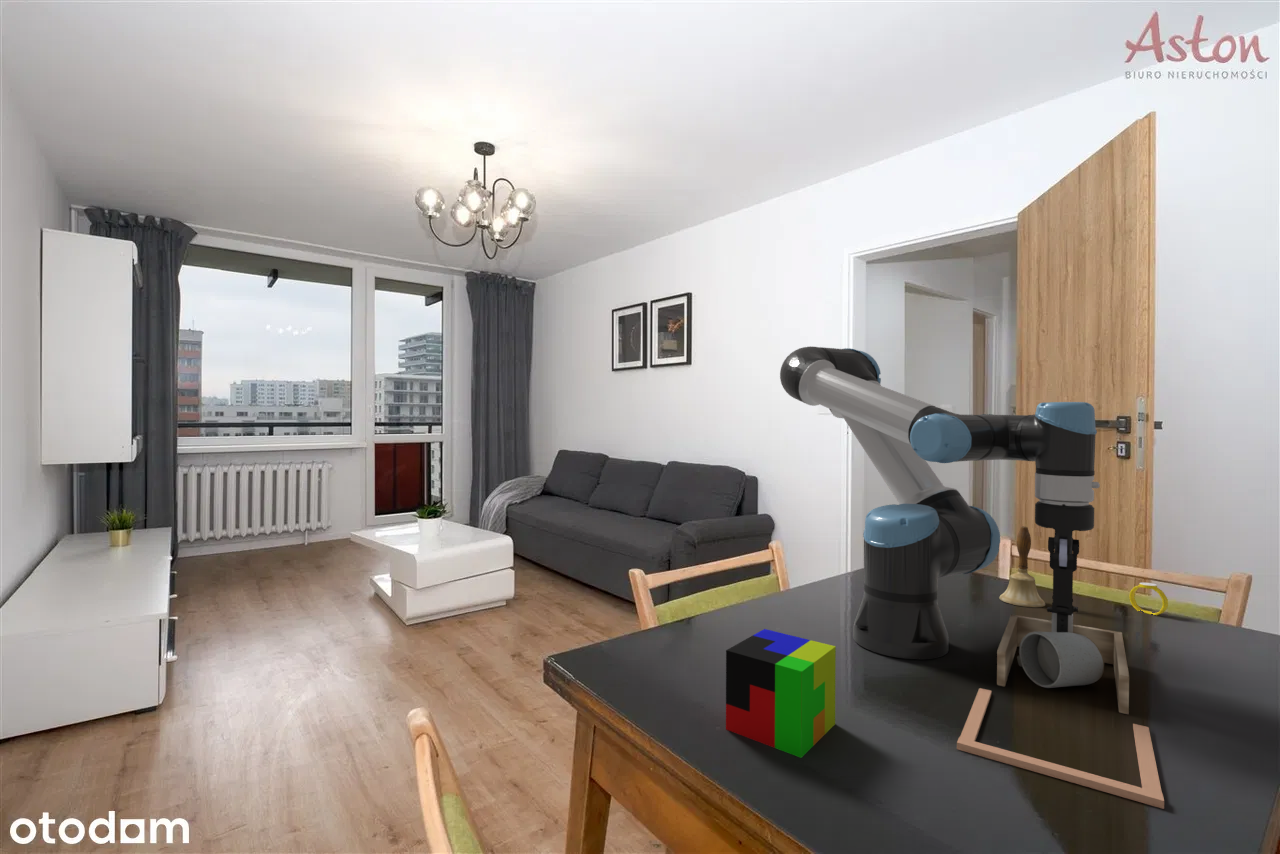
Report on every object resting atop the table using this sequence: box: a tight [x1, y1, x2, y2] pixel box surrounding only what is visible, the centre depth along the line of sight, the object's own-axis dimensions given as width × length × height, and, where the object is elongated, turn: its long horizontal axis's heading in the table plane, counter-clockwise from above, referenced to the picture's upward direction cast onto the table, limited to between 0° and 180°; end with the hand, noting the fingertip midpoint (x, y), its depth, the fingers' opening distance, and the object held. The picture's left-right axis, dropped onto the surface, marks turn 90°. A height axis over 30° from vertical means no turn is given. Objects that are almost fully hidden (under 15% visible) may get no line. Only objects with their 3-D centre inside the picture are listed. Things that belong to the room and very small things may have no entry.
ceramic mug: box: [1016, 631, 1105, 689], centre depth 91 cm, size 11×8×8 cm
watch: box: [1128, 582, 1169, 616], centre depth 122 cm, size 6×3×6 cm, turn 26°
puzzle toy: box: [725, 628, 837, 759], centre depth 77 cm, size 10×10×10 cm
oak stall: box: [996, 614, 1130, 715], centre depth 93 cm, size 15×20×5 cm
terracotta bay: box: [956, 687, 1165, 810], centre depth 74 cm, size 18×19×1 cm
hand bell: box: [998, 525, 1046, 608], centre depth 129 cm, size 8×8×16 cm
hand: (1061, 653), depth 95 cm, fingers closed
